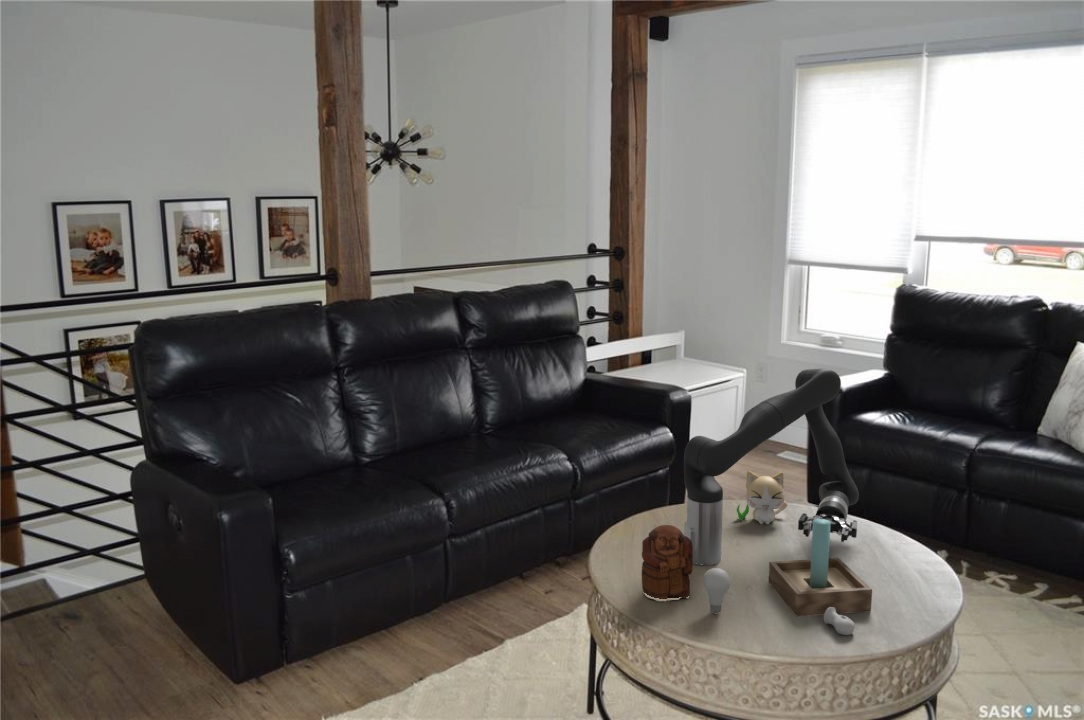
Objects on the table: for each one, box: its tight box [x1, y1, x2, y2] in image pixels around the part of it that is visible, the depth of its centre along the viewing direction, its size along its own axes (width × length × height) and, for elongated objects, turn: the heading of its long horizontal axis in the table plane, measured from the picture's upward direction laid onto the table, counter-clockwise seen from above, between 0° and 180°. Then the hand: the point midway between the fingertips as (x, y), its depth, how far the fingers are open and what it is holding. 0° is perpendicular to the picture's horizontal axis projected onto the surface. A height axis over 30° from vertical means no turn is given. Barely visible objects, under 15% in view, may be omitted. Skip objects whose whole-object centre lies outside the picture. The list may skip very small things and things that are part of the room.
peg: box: [810, 519, 831, 589], centre depth 213 cm, size 4×4×19 cm
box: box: [768, 557, 873, 617], centre depth 214 cm, size 18×18×6 cm
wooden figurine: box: [641, 524, 694, 599], centre depth 214 cm, size 12×6×18 cm, turn 98°
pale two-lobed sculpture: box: [823, 607, 856, 636], centre depth 199 cm, size 4×8×5 cm
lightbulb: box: [702, 567, 731, 614], centre depth 206 cm, size 6×6×11 cm
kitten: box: [736, 470, 788, 525], centre depth 261 cm, size 15×10×15 cm, turn 81°
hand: (824, 535), depth 221 cm, fingers open, 8 cm apart
